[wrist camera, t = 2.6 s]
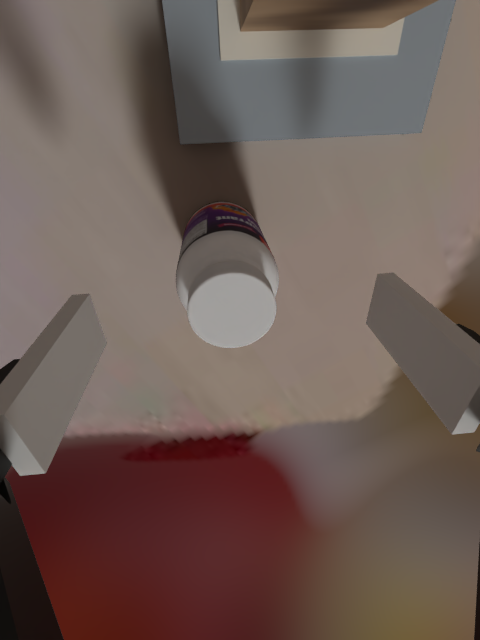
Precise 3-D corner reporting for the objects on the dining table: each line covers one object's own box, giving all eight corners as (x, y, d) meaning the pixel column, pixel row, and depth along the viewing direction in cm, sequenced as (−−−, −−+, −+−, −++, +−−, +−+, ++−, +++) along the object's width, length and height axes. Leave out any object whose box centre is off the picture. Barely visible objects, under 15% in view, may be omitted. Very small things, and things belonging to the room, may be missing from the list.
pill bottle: (275, 231, 21) (317, 301, 13) (230, 286, 23) (242, 375, 15) (212, 181, 19) (218, 228, 11) (168, 247, 21) (146, 327, 13)
